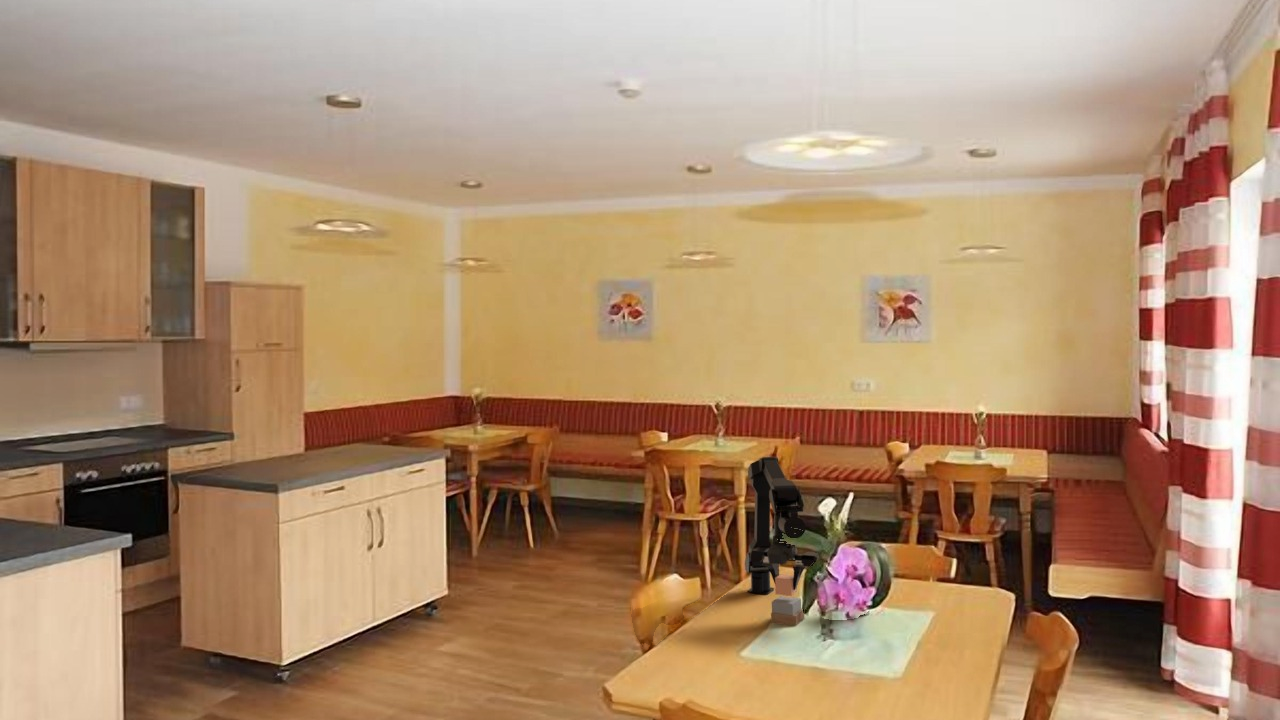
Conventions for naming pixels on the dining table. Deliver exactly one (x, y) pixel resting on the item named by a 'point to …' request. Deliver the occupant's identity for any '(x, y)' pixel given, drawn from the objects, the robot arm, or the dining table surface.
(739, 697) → the dining table surface
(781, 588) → the terracotta cube
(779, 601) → the slate block
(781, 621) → the walnut block
